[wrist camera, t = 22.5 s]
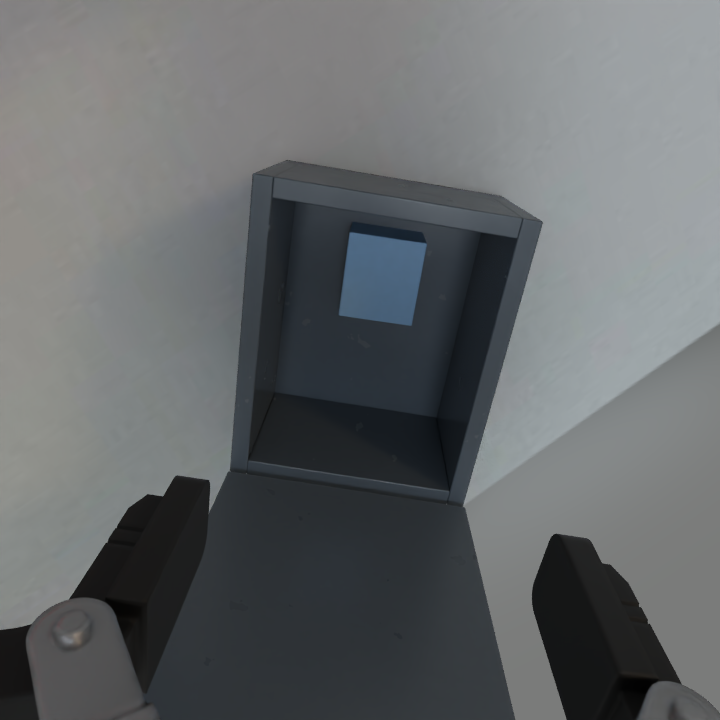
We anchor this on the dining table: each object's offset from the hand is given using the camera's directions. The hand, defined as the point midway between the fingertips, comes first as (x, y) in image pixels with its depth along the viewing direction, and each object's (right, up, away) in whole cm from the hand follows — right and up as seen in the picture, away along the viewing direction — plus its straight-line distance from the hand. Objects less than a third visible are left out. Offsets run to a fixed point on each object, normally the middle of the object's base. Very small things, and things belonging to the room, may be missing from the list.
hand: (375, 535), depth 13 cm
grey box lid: (-1, -7, +11) cm, 13 cm away
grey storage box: (+1, +8, +26) cm, 27 cm away
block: (+1, +10, +24) cm, 26 cm away
